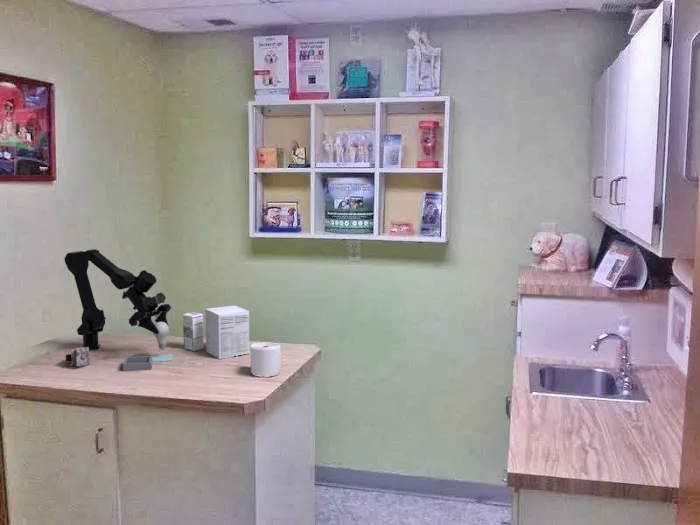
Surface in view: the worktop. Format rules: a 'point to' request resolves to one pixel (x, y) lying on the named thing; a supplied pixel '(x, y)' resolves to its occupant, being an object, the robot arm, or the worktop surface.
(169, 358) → the coaster
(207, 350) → the supplement box
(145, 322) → the robot arm
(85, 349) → the caster wheel
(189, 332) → the syrup box
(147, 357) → the grey square frame
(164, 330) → the lightbulb
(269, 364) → the toilet tissue
